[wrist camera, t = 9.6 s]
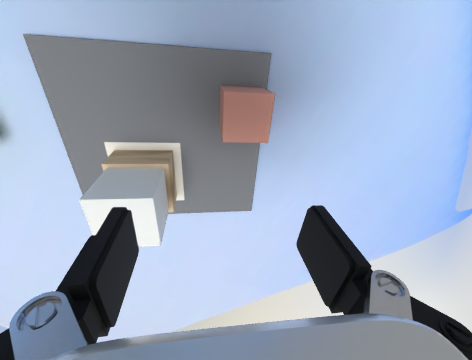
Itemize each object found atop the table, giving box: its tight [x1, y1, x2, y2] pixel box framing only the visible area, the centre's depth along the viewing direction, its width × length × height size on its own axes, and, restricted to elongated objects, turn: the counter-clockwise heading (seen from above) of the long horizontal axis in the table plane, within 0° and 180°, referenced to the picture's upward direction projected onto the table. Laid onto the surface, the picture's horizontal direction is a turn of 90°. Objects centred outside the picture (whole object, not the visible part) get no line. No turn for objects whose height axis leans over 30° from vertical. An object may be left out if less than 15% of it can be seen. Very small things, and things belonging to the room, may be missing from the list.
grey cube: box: [79, 168, 169, 247], centre depth 22 cm, size 6×6×6 cm
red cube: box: [220, 85, 275, 143], centre depth 23 cm, size 5×5×5 cm
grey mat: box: [23, 34, 271, 214], centre depth 27 cm, size 22×24×1 cm
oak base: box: [101, 150, 177, 213], centre depth 27 cm, size 7×7×4 cm
